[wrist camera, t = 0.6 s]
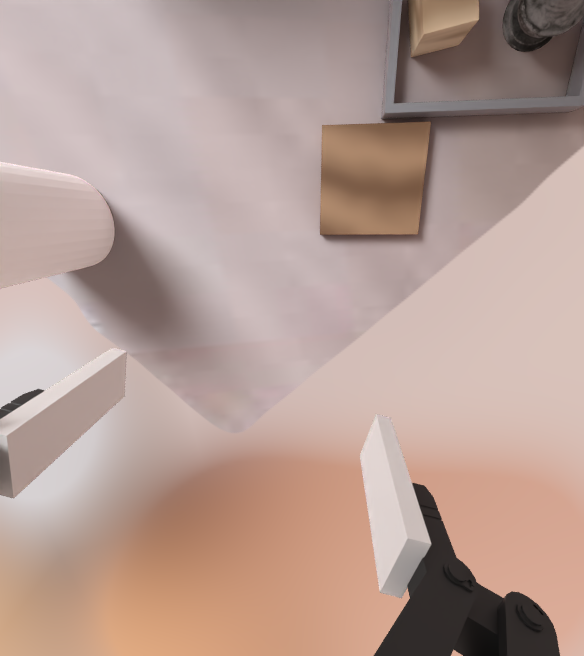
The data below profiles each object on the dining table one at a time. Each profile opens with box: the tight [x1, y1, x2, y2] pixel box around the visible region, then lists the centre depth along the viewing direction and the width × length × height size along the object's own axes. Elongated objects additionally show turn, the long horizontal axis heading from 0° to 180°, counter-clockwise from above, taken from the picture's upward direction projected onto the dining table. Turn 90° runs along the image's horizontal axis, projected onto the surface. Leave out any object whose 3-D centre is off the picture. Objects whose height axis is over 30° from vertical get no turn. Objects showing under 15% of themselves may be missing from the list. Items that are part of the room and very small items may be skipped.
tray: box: [381, 0, 584, 119], centre depth 30 cm, size 16×19×2 cm
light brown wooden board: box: [320, 122, 431, 235], centre depth 36 cm, size 11×11×1 cm
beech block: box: [408, 0, 479, 57], centre depth 29 cm, size 4×4×4 cm
